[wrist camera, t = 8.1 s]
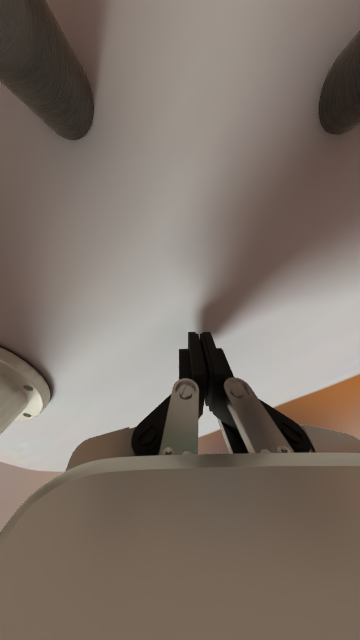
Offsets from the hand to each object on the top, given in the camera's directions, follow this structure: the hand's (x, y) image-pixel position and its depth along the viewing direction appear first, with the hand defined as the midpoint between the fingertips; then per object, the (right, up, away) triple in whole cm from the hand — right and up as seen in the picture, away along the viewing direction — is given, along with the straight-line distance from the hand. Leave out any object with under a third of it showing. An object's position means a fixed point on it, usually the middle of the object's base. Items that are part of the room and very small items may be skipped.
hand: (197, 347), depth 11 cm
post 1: (-7, +12, -5) cm, 15 cm away
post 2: (+6, +12, -5) cm, 15 cm away
